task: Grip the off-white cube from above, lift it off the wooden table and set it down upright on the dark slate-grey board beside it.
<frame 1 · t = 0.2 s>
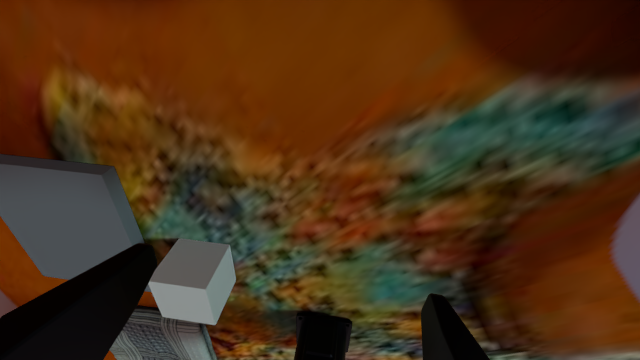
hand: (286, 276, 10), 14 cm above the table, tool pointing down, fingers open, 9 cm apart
dish towel: (163, 338, 45), on the table
white cube: (209, 259, 32), on the table
slate board: (79, 224, 32), on the table
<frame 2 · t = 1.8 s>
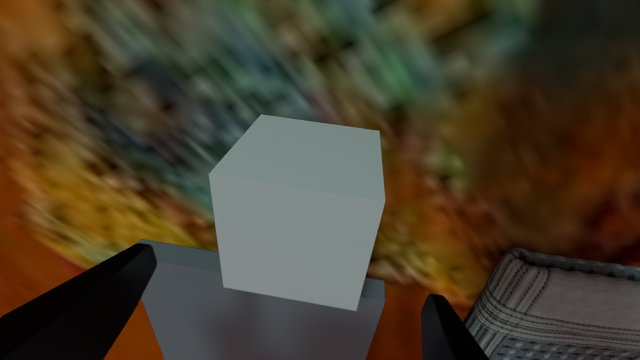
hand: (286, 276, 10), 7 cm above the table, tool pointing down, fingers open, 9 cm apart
dish towel: (589, 346, 20), on the table
white cube: (314, 172, 15), on the table
slate board: (261, 322, 23), on the table
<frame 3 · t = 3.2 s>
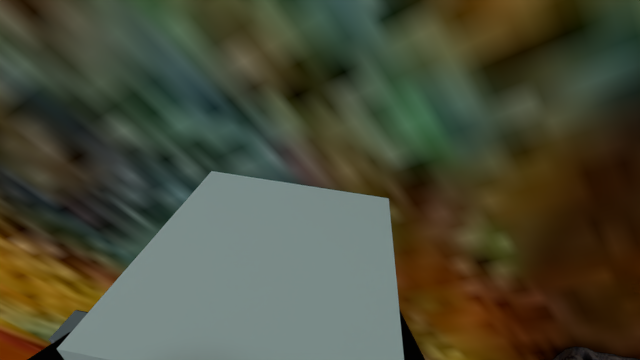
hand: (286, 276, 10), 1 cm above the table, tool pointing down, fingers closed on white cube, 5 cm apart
white cube: (294, 248, 11), on the table, touching gripper
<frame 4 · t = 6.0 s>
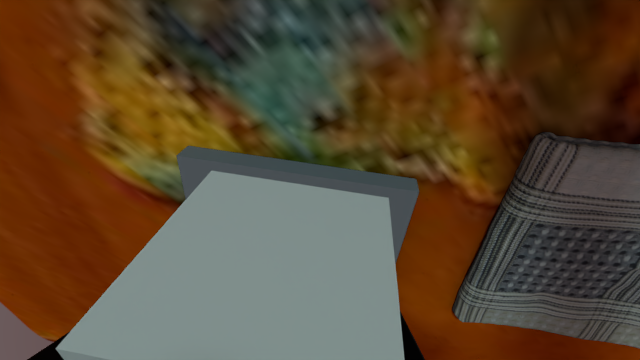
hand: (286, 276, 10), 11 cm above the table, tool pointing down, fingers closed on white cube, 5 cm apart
dish towel: (609, 249, 22), on the table
white cube: (294, 247, 11), point 10 cm above the table, touching gripper
slate board: (295, 235, 24), on the table
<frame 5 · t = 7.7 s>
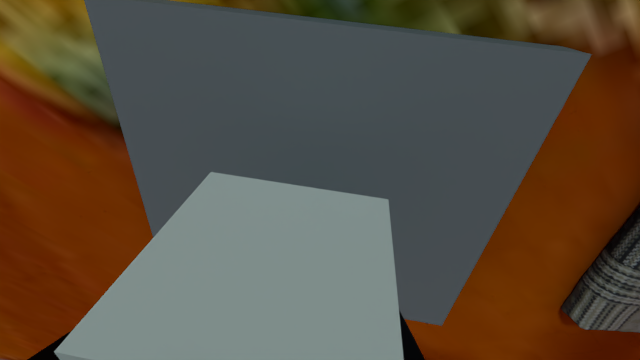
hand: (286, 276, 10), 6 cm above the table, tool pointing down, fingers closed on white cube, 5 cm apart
white cube: (293, 249, 11), point 4 cm above the table, touching gripper
slate board: (312, 183, 14), on the table
when the fingers open (4 cm above the table, at t = 8.9 s): white cube drops 1 cm, resting on slate board.
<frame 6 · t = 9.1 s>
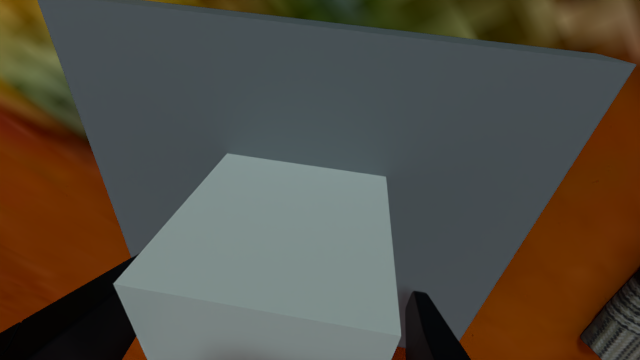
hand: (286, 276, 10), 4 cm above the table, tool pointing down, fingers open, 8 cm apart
white cube: (300, 225, 12), point 1 cm above the table, touching slate board
slate board: (307, 203, 13), on the table
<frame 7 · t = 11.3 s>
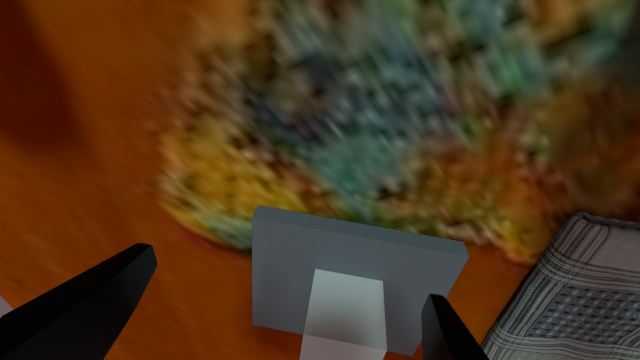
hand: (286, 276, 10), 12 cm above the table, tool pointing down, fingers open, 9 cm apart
dish towel: (623, 301, 25), on the table
white cube: (343, 296, 25), point 1 cm above the table, touching slate board
slate board: (344, 282, 27), on the table
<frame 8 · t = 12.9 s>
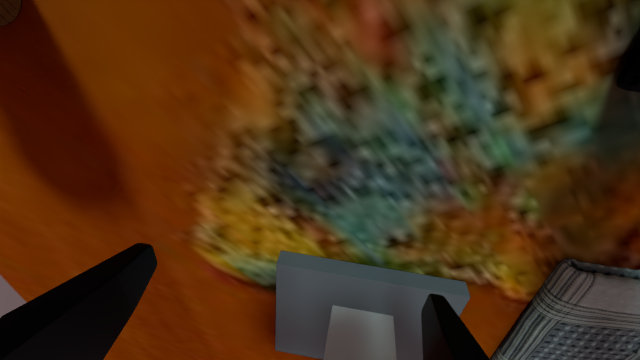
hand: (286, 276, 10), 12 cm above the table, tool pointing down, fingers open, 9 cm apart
dish towel: (615, 331, 27), on the table
white cube: (357, 327, 28), point 1 cm above the table, touching slate board
slate board: (358, 313, 30), on the table
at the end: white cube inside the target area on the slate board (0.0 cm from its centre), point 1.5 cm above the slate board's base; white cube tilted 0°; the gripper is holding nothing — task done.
